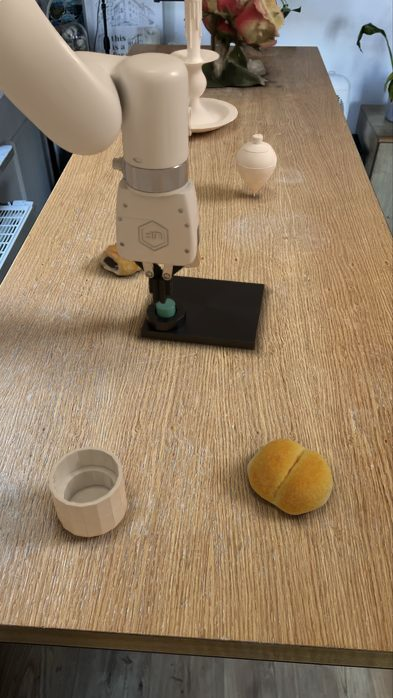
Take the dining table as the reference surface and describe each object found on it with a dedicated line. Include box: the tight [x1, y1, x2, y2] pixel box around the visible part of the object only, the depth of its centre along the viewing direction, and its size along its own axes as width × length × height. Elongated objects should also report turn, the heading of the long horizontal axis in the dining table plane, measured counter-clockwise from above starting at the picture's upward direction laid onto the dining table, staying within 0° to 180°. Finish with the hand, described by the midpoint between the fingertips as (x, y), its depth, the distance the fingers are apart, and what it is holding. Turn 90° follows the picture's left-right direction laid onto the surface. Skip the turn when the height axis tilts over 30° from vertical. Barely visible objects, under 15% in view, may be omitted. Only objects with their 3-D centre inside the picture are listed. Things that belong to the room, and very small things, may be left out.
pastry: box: [99, 242, 142, 277], centre depth 96 cm, size 9×7×4 cm
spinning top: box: [235, 133, 278, 197], centre depth 110 cm, size 8×8×12 cm
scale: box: [140, 274, 266, 351], centre depth 86 cm, size 16×14×3 cm
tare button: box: [156, 298, 175, 318], centre depth 82 cm, size 3×3×2 cm
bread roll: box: [246, 438, 334, 516], centre depth 63 cm, size 8×9×4 cm
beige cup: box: [48, 445, 128, 538], centre depth 60 cm, size 7×7×6 cm
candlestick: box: [168, 0, 239, 137], centre depth 131 cm, size 21×25×28 cm
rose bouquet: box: [175, 0, 285, 88], centre depth 162 cm, size 26×29×30 cm
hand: (161, 297), depth 81 cm, fingers closed
